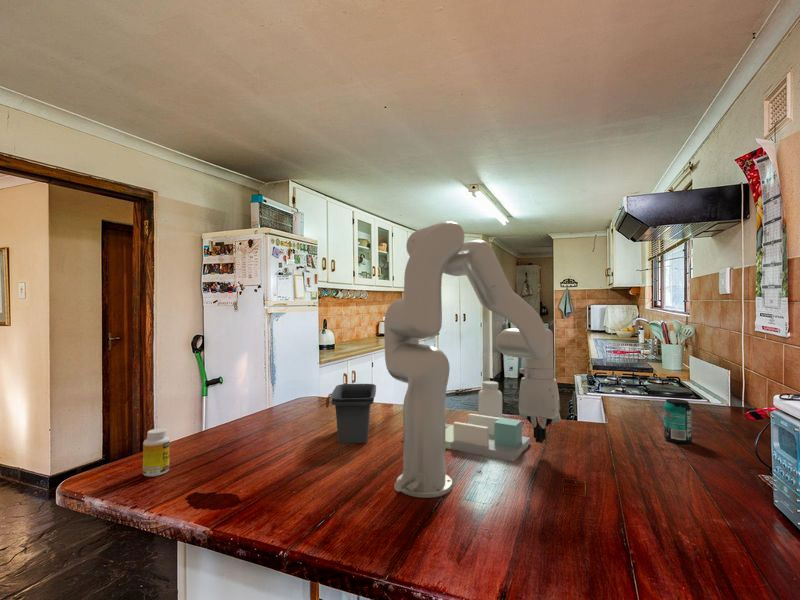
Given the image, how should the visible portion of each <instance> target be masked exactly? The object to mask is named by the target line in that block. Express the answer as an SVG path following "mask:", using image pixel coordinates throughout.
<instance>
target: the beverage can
mask: <svg viewBox="0 0 800 600" xmlns="http://www.w3.org/2000/svg"><path fill="white" fill-rule="evenodd" d="M692 409H693V408H692V406H691V405H690V402H689V401H688V400H684V399H679V398H668V399H665V402H664V404H663V438H664V439H665V440H666V441H668V442H671V443H673V444H680V445H688V444H691V442H692V441H693V429H692V428H693V425H692V424H693V423H692V414H693V413H692Z"/></svg>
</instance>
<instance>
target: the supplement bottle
mask: <svg viewBox="0 0 800 600" xmlns="http://www.w3.org/2000/svg"><path fill="white" fill-rule="evenodd" d="M146 434H147V435H146V439H144V441H143V443H142V475H144V476H145V477H159V476H161V475H164V474H166V473H167V472H168V471H169V470H170V447H171V446H170V444H171V443H170V442H171V441H170V440H171V439H170V437H169V436H167V429H166V428H164V427H163V428H162V427H161V428H160V427H159V428H153V429H150V430H148V431H147V433H146Z"/></svg>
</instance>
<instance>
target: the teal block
mask: <svg viewBox="0 0 800 600" xmlns="http://www.w3.org/2000/svg"><path fill="white" fill-rule="evenodd" d="M522 424H523V421H522V420H520V419H515V418H507V417H502V418H500V419H499V420H497V421H496V422H494V444H497V445H503V446H508V447H514V448H516V447H517V446H518V445H519V444H520V443H521V442H522V436H523V425H522Z"/></svg>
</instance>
